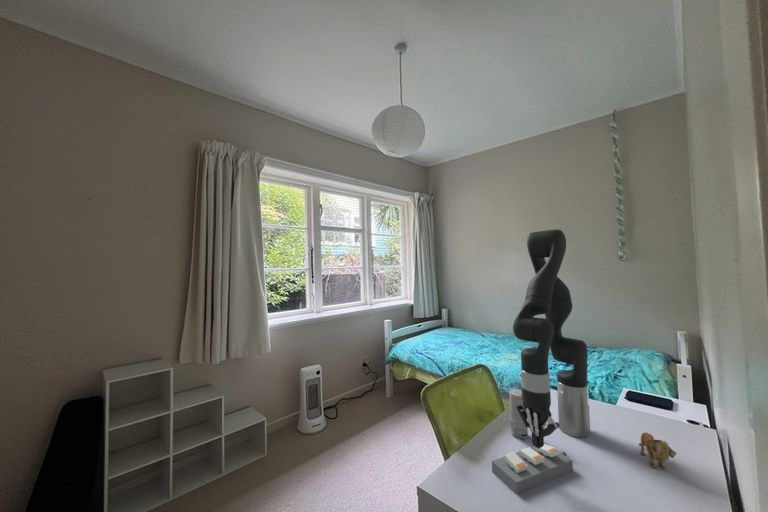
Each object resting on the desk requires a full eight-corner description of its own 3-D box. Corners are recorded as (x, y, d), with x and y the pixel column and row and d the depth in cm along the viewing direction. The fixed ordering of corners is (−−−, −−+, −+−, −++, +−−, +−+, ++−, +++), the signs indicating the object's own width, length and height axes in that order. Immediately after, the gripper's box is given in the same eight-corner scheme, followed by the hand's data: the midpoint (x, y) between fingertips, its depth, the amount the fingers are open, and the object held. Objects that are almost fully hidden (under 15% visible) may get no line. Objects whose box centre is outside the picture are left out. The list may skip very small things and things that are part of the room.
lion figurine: (680, 479, 80) (679, 446, 80) (657, 476, 81) (655, 444, 82) (648, 447, 94) (646, 419, 94) (628, 444, 95) (627, 417, 96)
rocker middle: (529, 453, 87) (528, 446, 87) (544, 464, 82) (544, 456, 82) (520, 456, 86) (520, 449, 86) (535, 467, 81) (534, 460, 81)
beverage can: (529, 440, 99) (528, 396, 99) (512, 438, 100) (511, 395, 100) (525, 430, 104) (523, 389, 105) (508, 429, 105) (507, 388, 106)
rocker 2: (545, 450, 89) (543, 442, 90) (560, 456, 85) (558, 448, 85) (536, 453, 88) (535, 445, 88) (551, 459, 83) (550, 452, 84)
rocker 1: (512, 456, 85) (513, 450, 85) (526, 471, 80) (527, 465, 80) (503, 459, 84) (504, 453, 83) (517, 475, 79) (518, 468, 79)
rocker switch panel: (551, 449, 93) (551, 440, 94) (579, 467, 85) (579, 457, 85) (492, 471, 84) (491, 461, 84) (516, 493, 76) (516, 482, 76)
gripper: (566, 392, 78) (568, 456, 78) (525, 375, 91) (528, 431, 90) (546, 398, 75) (549, 464, 75) (507, 380, 88) (510, 437, 87)
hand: (537, 446), depth 83 cm, fingers closed
